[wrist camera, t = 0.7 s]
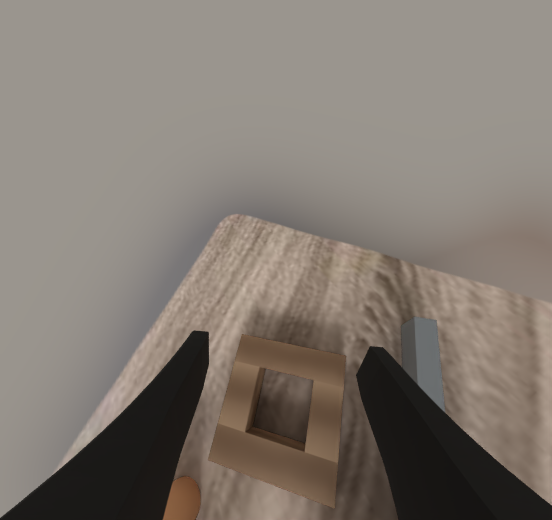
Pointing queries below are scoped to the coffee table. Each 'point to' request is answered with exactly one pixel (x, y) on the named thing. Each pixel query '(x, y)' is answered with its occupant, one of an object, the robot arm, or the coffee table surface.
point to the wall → (423, 356)
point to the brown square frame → (274, 448)
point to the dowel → (183, 500)
